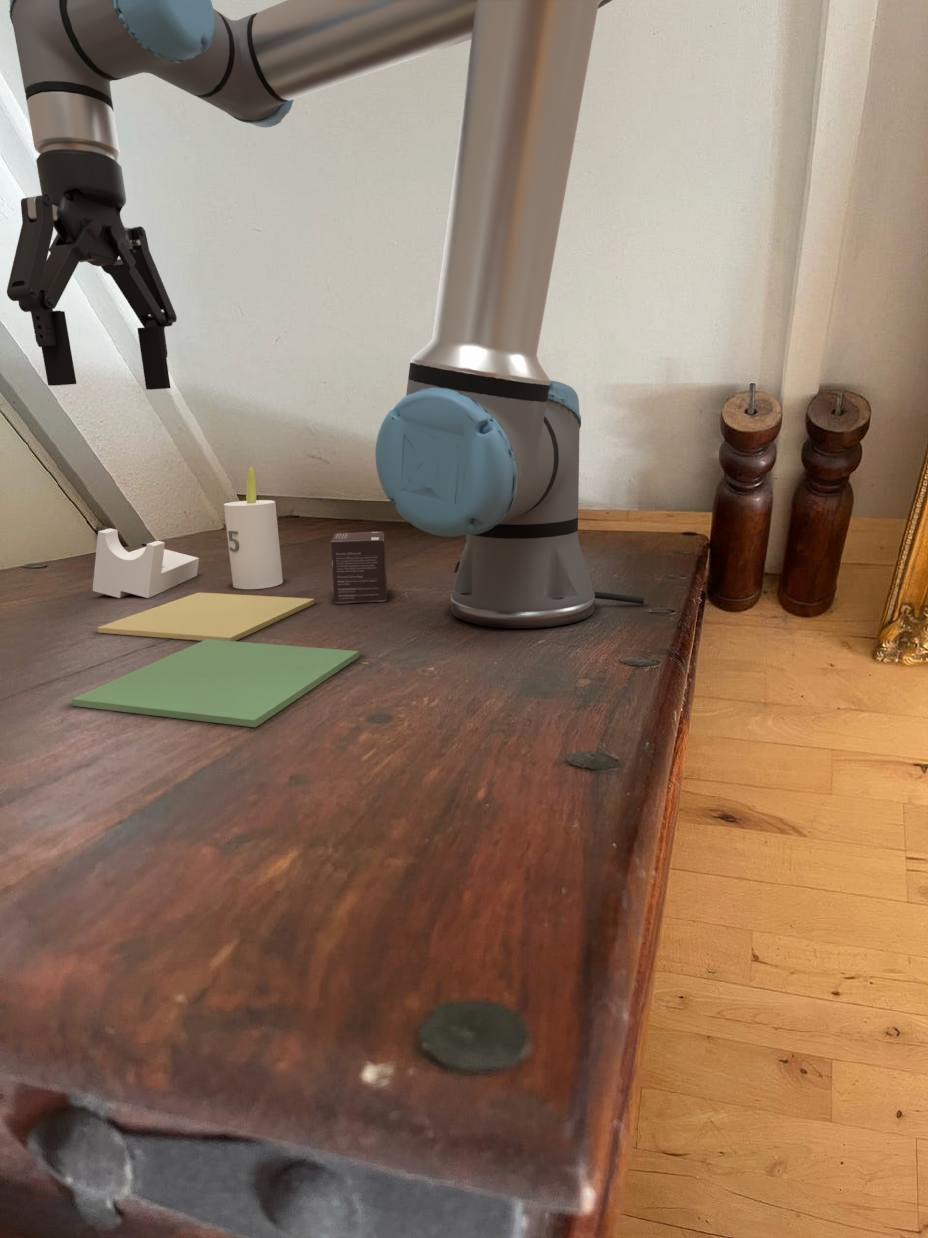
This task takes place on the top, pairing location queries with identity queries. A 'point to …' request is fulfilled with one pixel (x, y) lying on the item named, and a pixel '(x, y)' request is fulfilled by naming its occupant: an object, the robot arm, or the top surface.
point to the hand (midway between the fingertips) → (114, 387)
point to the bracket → (138, 567)
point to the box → (359, 567)
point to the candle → (253, 540)
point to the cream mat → (208, 617)
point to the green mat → (220, 682)
